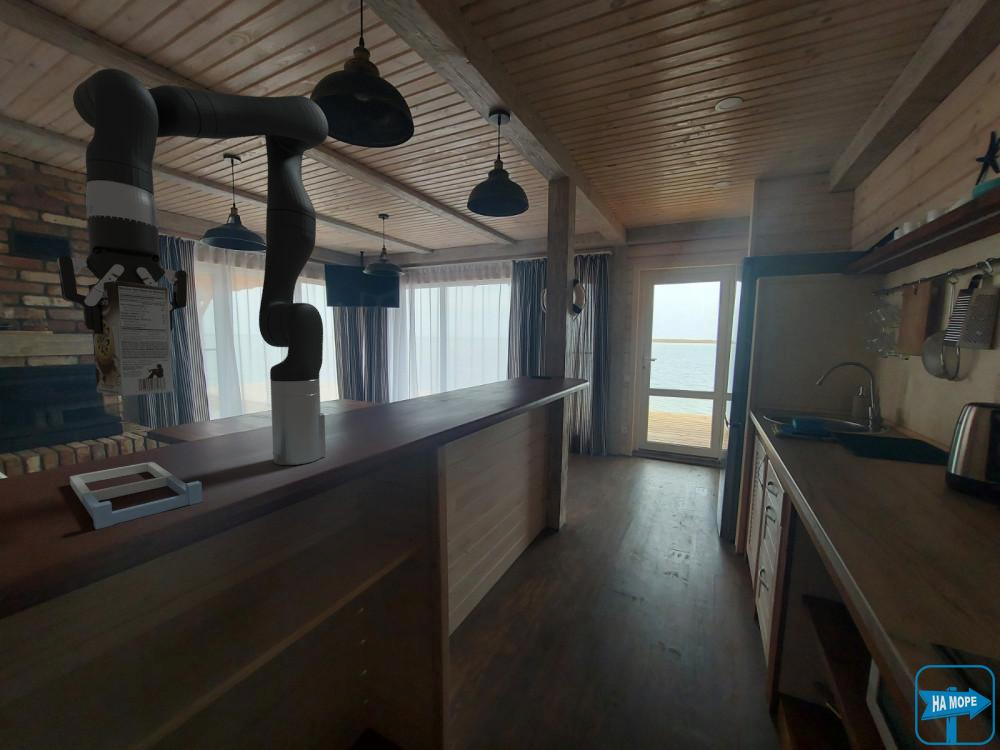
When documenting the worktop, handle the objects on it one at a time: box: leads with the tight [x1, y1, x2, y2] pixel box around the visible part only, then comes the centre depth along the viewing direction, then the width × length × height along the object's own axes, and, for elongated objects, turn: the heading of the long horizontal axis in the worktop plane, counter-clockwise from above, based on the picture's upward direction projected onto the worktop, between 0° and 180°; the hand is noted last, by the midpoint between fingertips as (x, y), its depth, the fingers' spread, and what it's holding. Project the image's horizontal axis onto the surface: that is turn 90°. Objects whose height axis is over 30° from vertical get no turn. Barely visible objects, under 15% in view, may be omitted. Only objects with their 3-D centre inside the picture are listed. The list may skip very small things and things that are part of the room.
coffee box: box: [87, 281, 174, 397], centre depth 58 cm, size 9×6×16 cm
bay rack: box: [69, 461, 203, 530], centre depth 64 cm, size 12×27×3 cm, turn 53°
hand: (131, 334), depth 58 cm, fingers closed on coffee box, 7 cm apart
